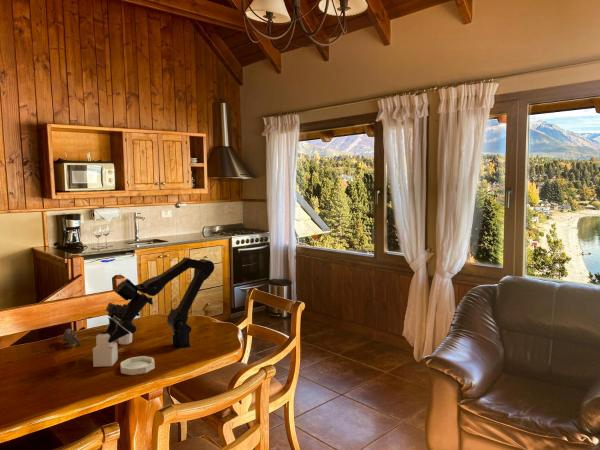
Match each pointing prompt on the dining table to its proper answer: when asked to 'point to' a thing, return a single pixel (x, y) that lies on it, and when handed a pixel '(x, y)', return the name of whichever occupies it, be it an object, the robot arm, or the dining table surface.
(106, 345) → the medicine bottle
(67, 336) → the dog figurine
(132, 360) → the bowl
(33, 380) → the dining table surface
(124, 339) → the shot glass
